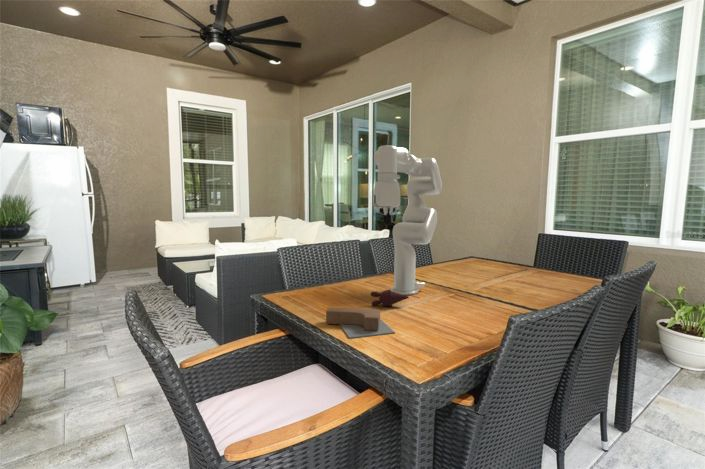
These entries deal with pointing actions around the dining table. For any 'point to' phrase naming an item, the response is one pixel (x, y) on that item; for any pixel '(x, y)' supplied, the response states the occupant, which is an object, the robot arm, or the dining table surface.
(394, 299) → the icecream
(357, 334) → the mat
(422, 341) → the dining table surface
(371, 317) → the wooden block
